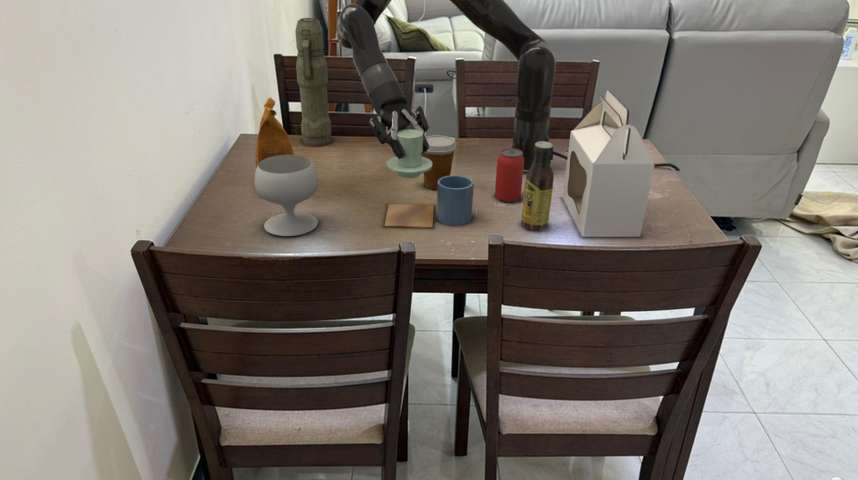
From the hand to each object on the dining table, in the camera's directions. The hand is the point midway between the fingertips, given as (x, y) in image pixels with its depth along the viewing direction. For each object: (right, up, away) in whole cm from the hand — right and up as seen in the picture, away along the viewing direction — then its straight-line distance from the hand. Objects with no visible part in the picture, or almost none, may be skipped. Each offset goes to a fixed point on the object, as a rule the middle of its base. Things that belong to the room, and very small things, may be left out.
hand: (414, 153), depth 150 cm
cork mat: (-1, -13, +9) cm, 16 cm away
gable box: (+44, -13, +10) cm, 47 cm away
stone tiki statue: (-30, +14, +54) cm, 64 cm away
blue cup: (+9, -13, +9) cm, 19 cm away
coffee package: (-35, -4, +24) cm, 43 cm away
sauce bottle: (+28, -16, +5) cm, 32 cm away
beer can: (+23, -8, +19) cm, 31 cm away
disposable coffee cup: (+6, -3, +26) cm, 27 cm away
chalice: (-28, -16, +5) cm, 33 cm away
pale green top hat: (-1, -4, +4) cm, 6 cm away
